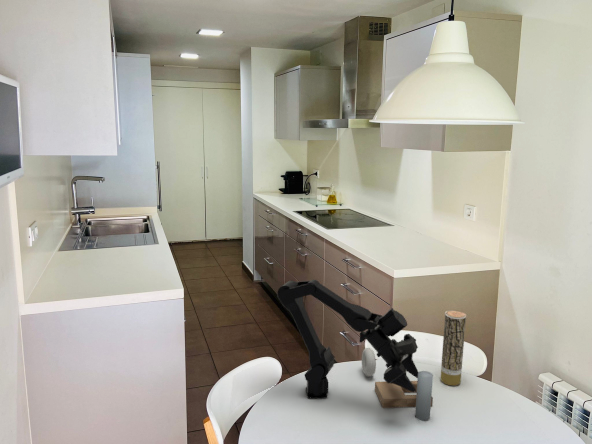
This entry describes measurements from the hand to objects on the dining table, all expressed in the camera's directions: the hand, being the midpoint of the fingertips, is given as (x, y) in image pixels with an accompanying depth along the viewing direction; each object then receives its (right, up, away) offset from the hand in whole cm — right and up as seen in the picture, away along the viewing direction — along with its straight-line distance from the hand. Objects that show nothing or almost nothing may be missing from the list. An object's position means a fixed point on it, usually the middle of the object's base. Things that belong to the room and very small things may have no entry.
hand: (417, 384), depth 150 cm
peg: (+2, -10, +1) cm, 11 cm away
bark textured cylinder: (+17, -7, +23) cm, 30 cm away
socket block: (-2, -8, +12) cm, 14 cm away
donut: (-11, -6, +27) cm, 29 cm away
